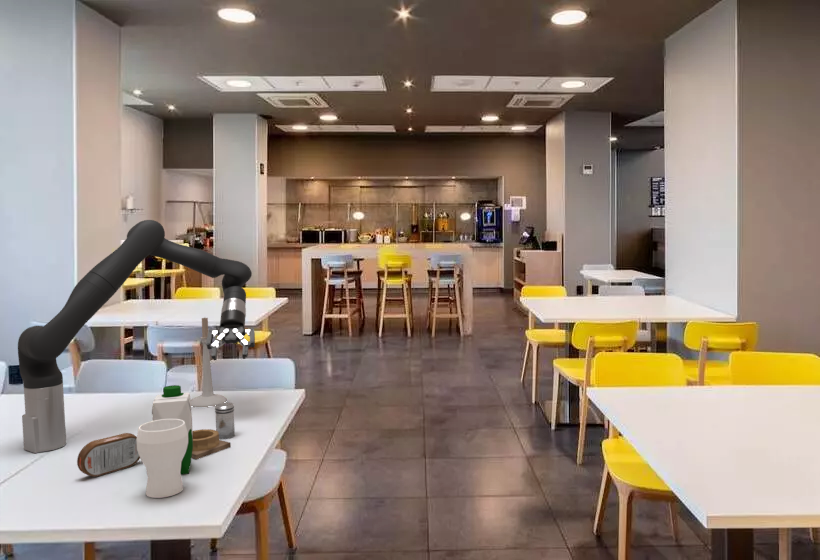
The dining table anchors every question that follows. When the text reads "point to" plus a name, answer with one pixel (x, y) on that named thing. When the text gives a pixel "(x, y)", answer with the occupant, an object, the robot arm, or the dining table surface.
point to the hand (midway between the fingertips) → (229, 358)
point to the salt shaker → (225, 420)
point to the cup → (163, 455)
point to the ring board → (207, 452)
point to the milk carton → (176, 416)
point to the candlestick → (207, 377)
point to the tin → (108, 455)
